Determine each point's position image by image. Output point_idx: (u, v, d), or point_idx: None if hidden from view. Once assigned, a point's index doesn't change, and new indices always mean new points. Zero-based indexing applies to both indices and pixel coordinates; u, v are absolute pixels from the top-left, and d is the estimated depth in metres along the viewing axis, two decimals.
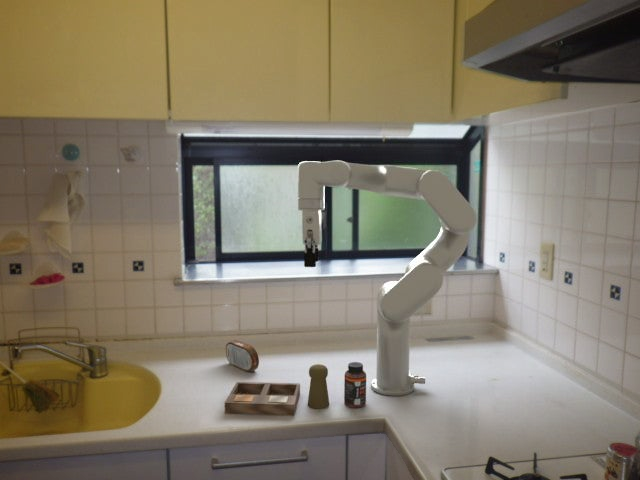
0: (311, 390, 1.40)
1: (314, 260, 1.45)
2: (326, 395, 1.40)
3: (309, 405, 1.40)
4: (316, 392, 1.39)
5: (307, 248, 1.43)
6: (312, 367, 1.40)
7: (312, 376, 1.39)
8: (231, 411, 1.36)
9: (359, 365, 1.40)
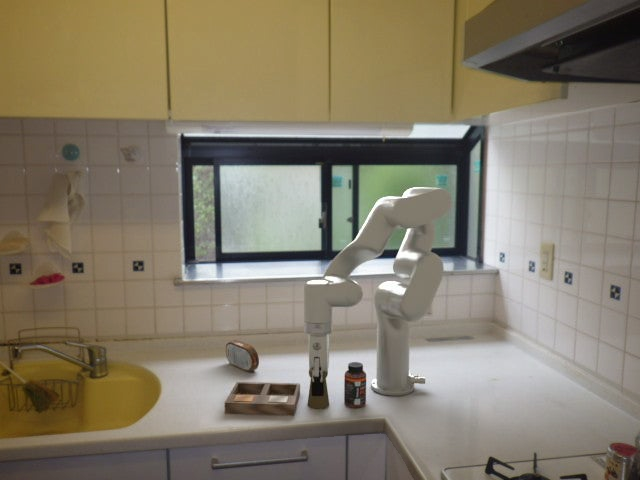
0: (311, 390, 1.40)
1: (322, 389, 1.38)
2: (326, 395, 1.40)
3: (309, 405, 1.40)
4: None
5: (315, 379, 1.36)
6: None
7: None
8: (231, 411, 1.36)
9: (359, 365, 1.40)
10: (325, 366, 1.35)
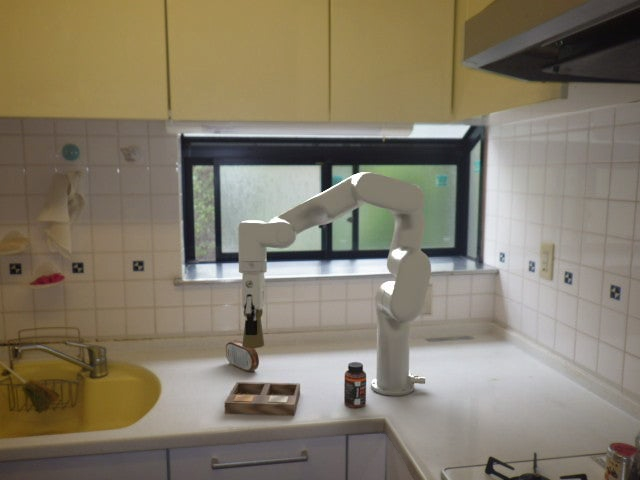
0: None
1: (255, 328, 1.39)
2: (260, 335, 1.41)
3: (243, 344, 1.41)
4: None
5: (247, 317, 1.37)
6: None
7: None
8: (231, 411, 1.36)
9: (359, 365, 1.40)
10: (257, 304, 1.36)
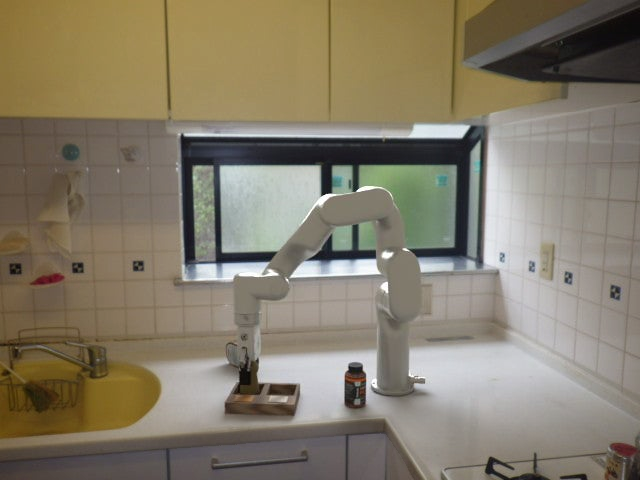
0: (242, 385, 1.43)
1: (249, 378, 1.39)
2: (256, 390, 1.44)
3: None
4: (246, 387, 1.42)
5: (241, 368, 1.37)
6: None
7: None
8: (231, 411, 1.36)
9: (359, 365, 1.40)
10: (252, 356, 1.39)
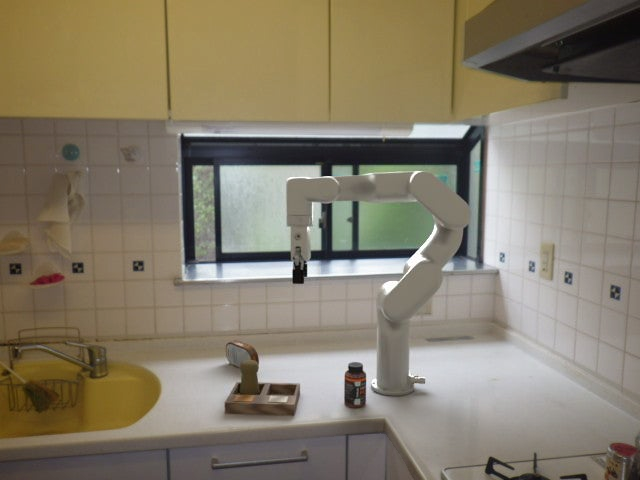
0: (242, 385, 1.43)
1: (302, 277, 1.44)
2: (256, 390, 1.44)
3: None
4: (246, 387, 1.42)
5: (295, 265, 1.41)
6: (243, 362, 1.43)
7: (242, 371, 1.42)
8: (231, 411, 1.36)
9: (359, 365, 1.40)
10: (306, 255, 1.43)
